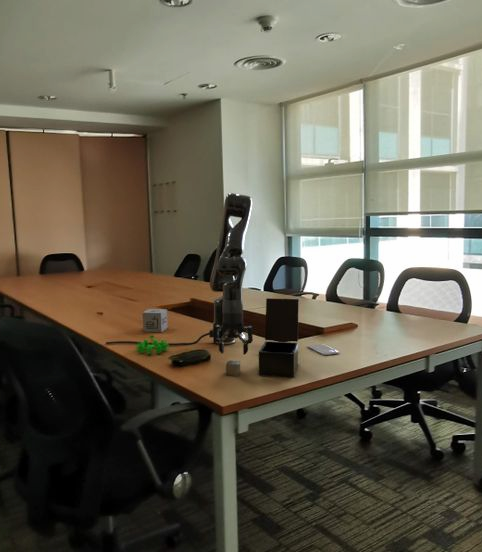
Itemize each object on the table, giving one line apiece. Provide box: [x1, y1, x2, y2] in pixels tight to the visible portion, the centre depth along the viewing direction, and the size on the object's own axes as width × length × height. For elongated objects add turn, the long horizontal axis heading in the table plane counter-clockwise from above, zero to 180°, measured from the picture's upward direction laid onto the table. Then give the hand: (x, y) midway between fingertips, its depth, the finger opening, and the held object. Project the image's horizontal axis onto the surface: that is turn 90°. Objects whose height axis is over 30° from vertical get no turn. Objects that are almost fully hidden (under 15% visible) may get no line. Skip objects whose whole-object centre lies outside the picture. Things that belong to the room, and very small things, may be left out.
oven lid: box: [264, 297, 300, 343], centre depth 197 cm, size 17×13×5 cm
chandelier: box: [135, 334, 170, 356], centre depth 217 cm, size 15×15×7 cm
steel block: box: [225, 360, 241, 377], centre depth 183 cm, size 4×4×4 cm
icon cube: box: [142, 308, 168, 333], centre depth 258 cm, size 10×10×10 cm
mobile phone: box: [307, 343, 339, 356], centre depth 213 cm, size 8×1×15 cm
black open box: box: [258, 340, 299, 378], centre depth 187 cm, size 16×13×9 cm
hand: (233, 353), depth 183 cm, fingers open, 8 cm apart
